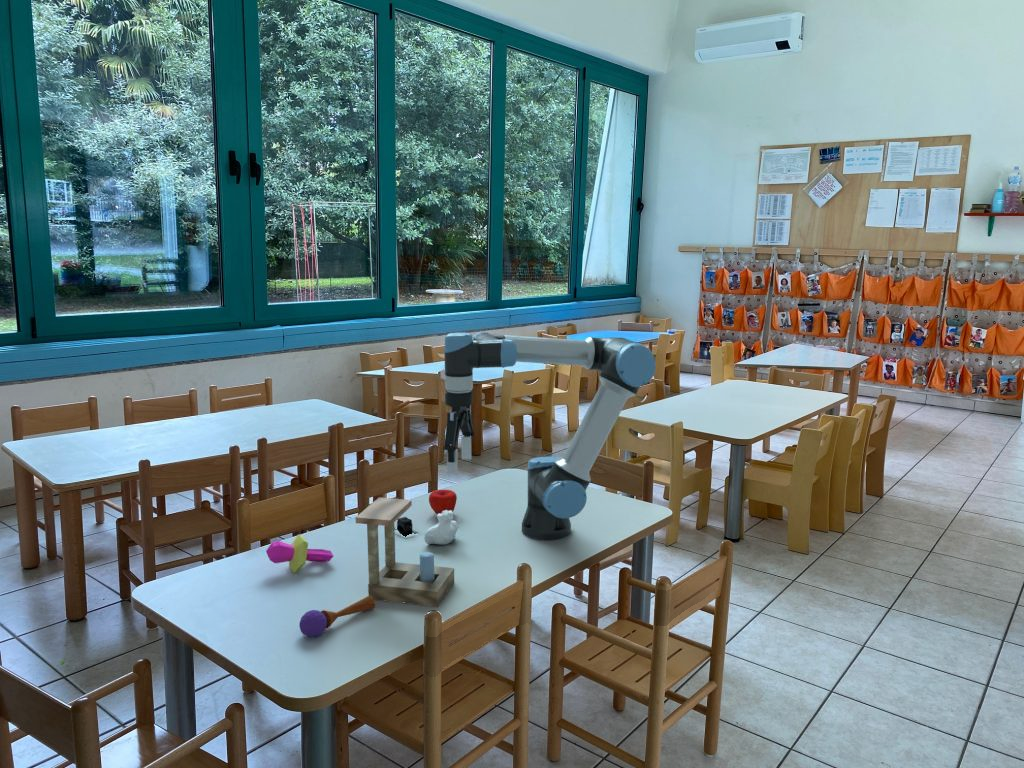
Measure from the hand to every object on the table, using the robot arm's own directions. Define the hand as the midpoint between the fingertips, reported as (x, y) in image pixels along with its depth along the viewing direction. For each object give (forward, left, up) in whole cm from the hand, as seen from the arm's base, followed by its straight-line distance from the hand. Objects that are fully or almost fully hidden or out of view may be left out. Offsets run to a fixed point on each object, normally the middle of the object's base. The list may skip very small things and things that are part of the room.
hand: (459, 466), depth 216 cm
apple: (+15, -31, -27) cm, 44 cm away
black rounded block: (+22, -14, -28) cm, 38 cm away
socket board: (+6, +23, -27) cm, 36 cm away
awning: (+13, +23, -23) cm, 35 cm away
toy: (+40, +17, -27) cm, 51 cm away
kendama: (+17, +43, -27) cm, 54 cm away
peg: (+2, +23, -27) cm, 35 cm away
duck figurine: (+8, -9, -27) cm, 30 cm away
